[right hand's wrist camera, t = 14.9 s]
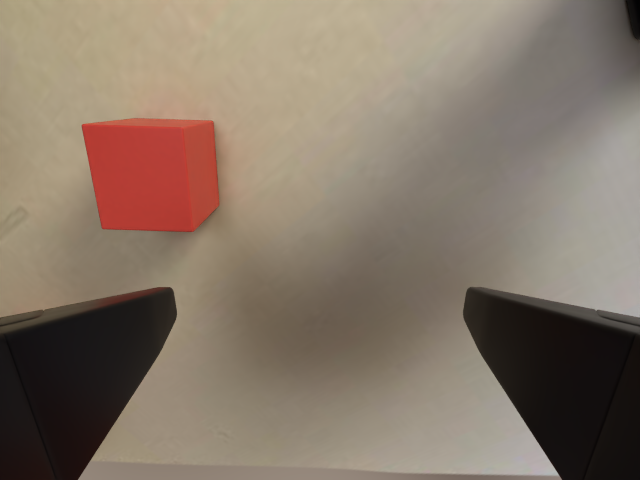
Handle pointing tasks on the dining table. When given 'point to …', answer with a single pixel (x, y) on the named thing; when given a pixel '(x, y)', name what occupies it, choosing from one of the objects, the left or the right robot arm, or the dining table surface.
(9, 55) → the dining table surface
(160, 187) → the red cube
